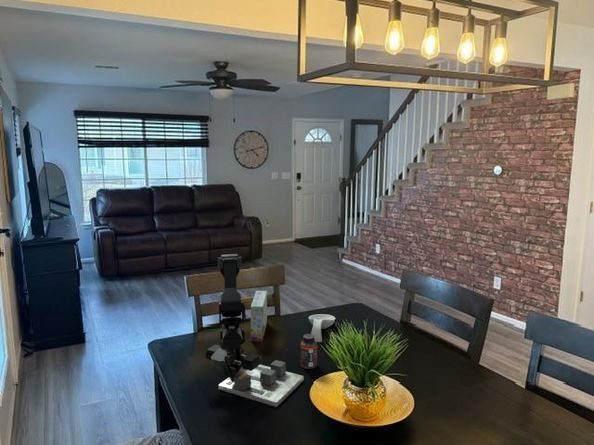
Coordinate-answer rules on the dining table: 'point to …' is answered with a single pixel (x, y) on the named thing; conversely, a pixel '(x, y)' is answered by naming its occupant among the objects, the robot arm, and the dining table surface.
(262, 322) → the snack box
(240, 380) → the grey cube
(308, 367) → the supplement bottle
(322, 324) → the spoon rest
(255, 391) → the panel
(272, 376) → the block
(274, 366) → the block
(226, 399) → the dining table surface
